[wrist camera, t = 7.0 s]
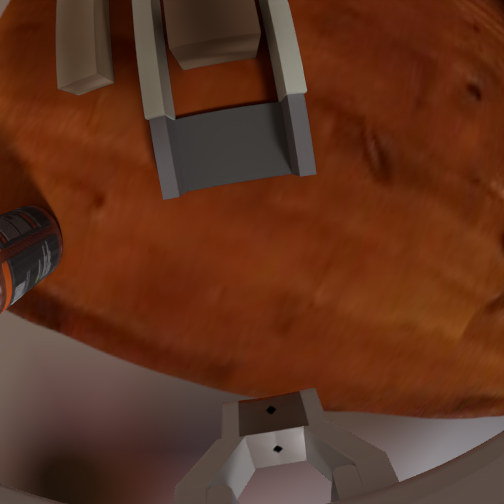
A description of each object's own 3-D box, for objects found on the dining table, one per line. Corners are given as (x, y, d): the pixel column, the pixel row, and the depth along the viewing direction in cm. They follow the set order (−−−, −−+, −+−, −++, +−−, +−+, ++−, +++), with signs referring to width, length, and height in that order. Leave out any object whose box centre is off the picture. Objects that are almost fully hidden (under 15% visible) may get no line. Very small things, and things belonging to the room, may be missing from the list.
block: (244, 1, 17) (246, -33, 13) (255, 58, 19) (261, 32, 14) (175, 12, 17) (161, -19, 13) (183, 70, 19) (168, 48, 14)
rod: (110, -49, 15) (96, -68, 11) (115, 83, 19) (96, 73, 16) (78, -37, 15) (62, -54, 11) (80, 95, 19) (57, 88, 16)
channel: (266, -36, 16) (270, -60, 13) (307, 171, 21) (320, 174, 18) (142, -15, 16) (130, -36, 13) (171, 194, 21) (160, 201, 18)
